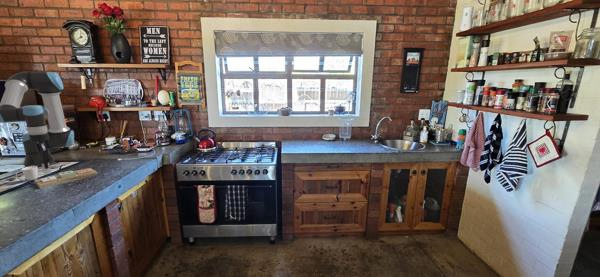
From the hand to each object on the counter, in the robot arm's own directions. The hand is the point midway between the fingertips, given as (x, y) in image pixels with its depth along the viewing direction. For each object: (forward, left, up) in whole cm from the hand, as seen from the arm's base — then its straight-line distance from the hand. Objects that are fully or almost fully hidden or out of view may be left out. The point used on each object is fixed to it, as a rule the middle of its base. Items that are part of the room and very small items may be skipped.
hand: (47, 173), depth 144 cm
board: (0, +8, -6) cm, 10 cm away
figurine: (-38, +55, -7) cm, 67 cm away
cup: (-15, -6, -7) cm, 18 cm away
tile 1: (0, 0, -6) cm, 6 cm away
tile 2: (0, +8, -4) cm, 9 cm away
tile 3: (0, +16, -6) cm, 17 cm away
